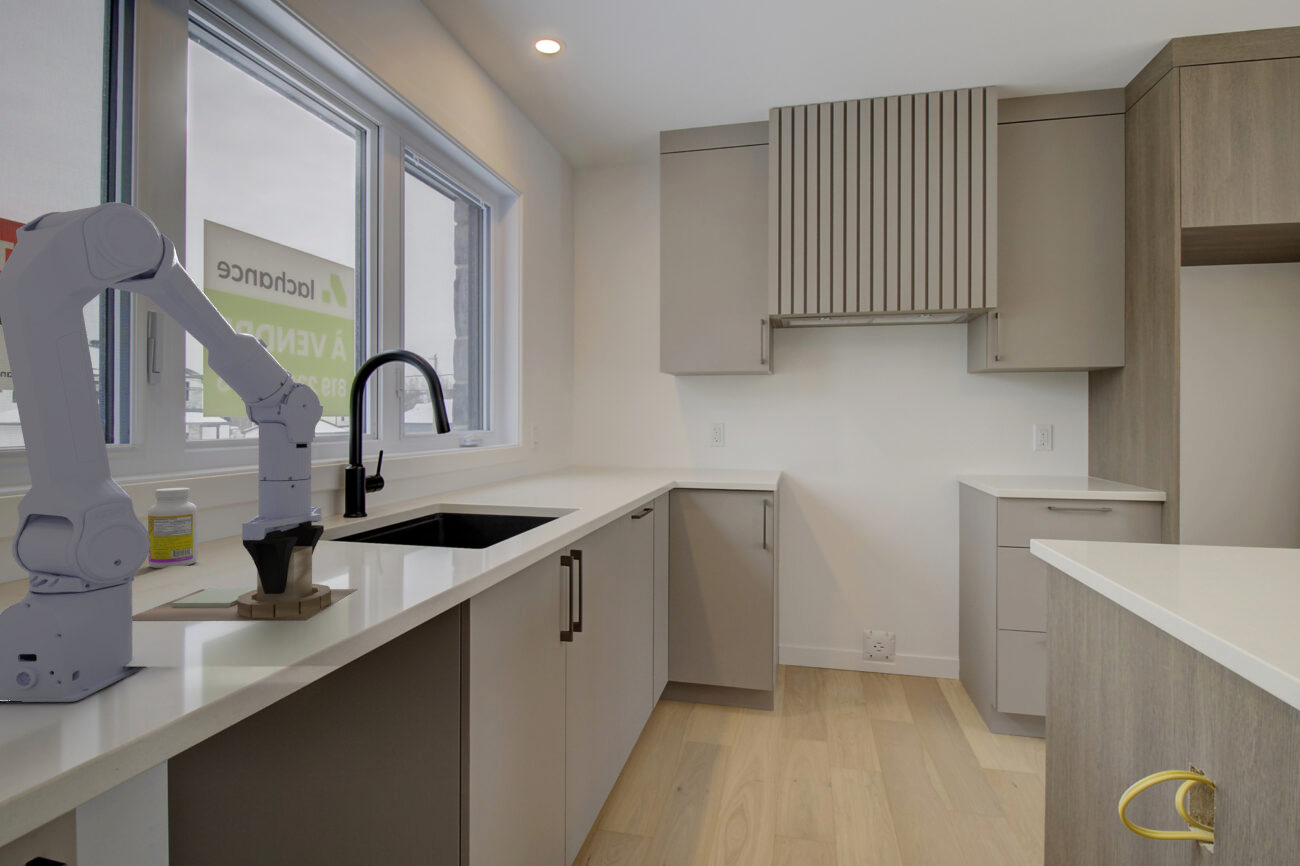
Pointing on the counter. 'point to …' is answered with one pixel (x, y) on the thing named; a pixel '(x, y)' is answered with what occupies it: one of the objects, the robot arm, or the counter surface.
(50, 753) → the counter surface
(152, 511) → the supplement bottle
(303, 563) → the peg
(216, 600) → the sage pad
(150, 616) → the base board
